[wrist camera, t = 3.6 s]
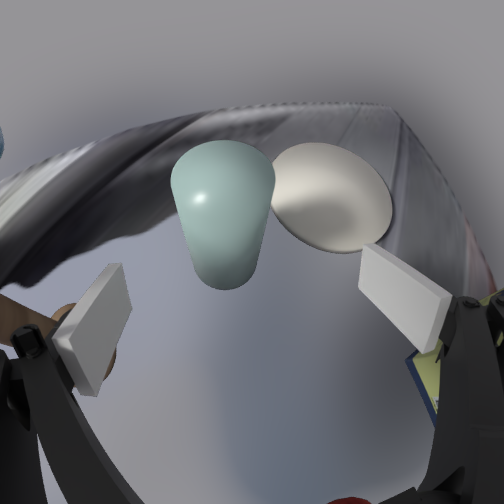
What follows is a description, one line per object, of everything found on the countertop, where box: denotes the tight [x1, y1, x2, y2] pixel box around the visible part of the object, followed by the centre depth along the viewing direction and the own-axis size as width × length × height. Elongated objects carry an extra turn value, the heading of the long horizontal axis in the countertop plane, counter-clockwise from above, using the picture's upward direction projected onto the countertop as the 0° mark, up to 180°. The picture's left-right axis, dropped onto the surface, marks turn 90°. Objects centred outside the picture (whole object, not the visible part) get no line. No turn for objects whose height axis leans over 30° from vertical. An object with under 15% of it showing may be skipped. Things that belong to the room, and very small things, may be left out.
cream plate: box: [270, 142, 392, 254], centre depth 30 cm, size 15×15×1 cm
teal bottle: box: [171, 140, 276, 290], centre depth 21 cm, size 6×6×12 cm
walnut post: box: [0, 294, 116, 387], centre depth 12 cm, size 8×8×20 cm
